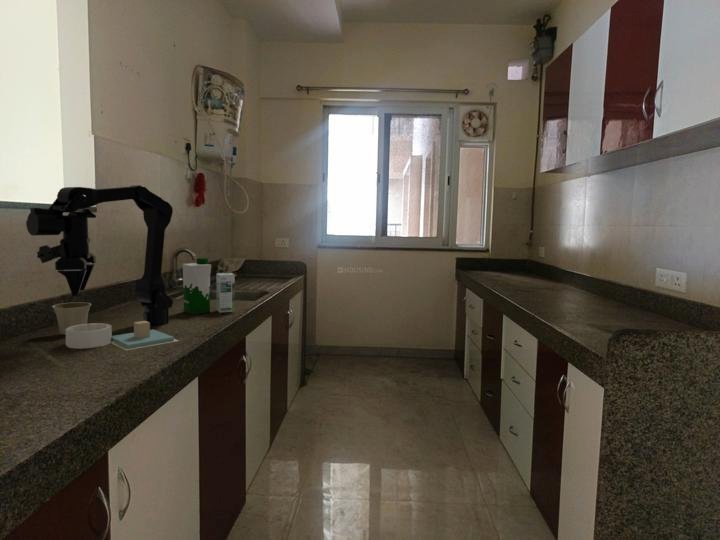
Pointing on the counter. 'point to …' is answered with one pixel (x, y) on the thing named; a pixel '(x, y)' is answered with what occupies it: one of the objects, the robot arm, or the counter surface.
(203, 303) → the milk carton
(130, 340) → the lid
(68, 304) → the flower pot
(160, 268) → the robot arm
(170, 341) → the mat
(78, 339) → the bowl
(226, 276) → the syrup box
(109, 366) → the counter surface
